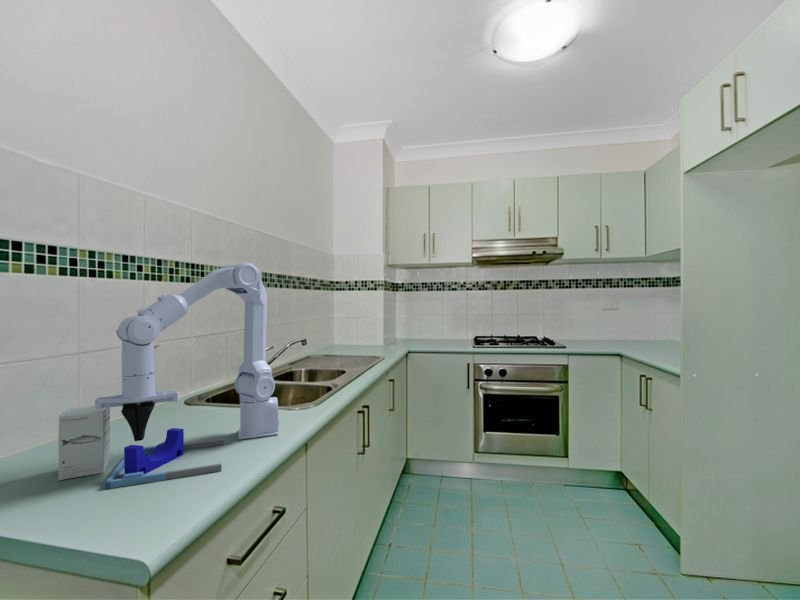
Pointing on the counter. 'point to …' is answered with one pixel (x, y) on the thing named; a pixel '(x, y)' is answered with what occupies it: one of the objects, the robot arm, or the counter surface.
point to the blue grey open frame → (140, 478)
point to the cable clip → (154, 453)
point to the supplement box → (83, 441)
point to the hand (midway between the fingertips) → (139, 439)
